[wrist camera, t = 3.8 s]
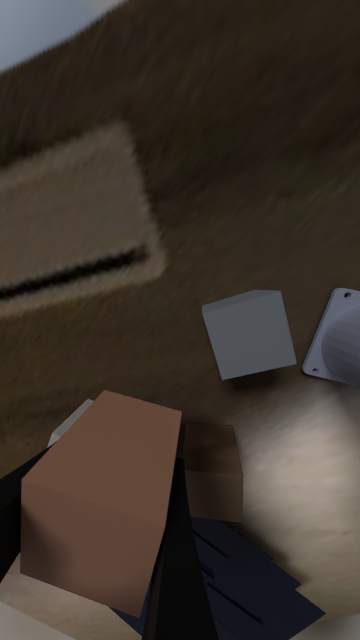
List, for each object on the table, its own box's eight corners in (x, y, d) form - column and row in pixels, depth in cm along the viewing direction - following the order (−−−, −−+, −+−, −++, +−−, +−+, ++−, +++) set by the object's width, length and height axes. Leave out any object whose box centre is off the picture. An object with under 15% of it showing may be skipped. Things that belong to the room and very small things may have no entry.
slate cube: (254, 289, 15) (280, 291, 10) (267, 340, 16) (296, 363, 11) (201, 305, 16) (202, 313, 11) (215, 353, 17) (222, 380, 12)
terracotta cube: (181, 411, 10) (165, 527, 5) (165, 474, 11) (139, 618, 6) (104, 390, 10) (21, 479, 6) (96, 452, 12) (20, 573, 7)
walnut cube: (231, 424, 18) (243, 475, 13) (231, 462, 19) (241, 522, 14) (185, 422, 19) (180, 469, 14) (187, 459, 20) (183, 515, 15)
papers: (213, 652, 24) (212, 713, 21) (54, 517, 28) (31, 549, 25) (321, 560, 19) (345, 621, 15) (106, 410, 23) (85, 431, 19)
